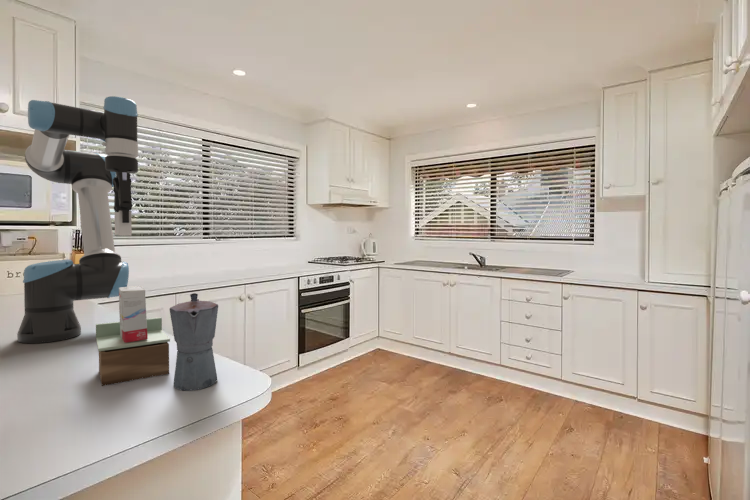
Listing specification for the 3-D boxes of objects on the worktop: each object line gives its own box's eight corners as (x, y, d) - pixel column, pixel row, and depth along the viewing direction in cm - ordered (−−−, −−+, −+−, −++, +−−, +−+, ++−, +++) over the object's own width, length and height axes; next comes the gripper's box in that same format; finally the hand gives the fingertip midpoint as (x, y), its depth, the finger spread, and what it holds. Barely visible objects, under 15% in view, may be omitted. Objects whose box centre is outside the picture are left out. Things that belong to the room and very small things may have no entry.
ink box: (147, 340, 92) (147, 289, 91) (122, 344, 89) (121, 291, 88) (142, 332, 99) (142, 285, 98) (118, 335, 96) (118, 286, 95)
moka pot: (170, 399, 79) (169, 299, 78) (170, 374, 92) (169, 288, 91) (221, 391, 83) (221, 296, 82) (214, 368, 97) (213, 286, 96)
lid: (96, 339, 94) (95, 324, 94) (161, 331, 103) (161, 317, 103) (98, 351, 85) (98, 334, 85) (169, 341, 93) (169, 326, 93)
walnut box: (99, 371, 94) (98, 341, 93) (161, 361, 101) (160, 333, 101) (101, 386, 85) (101, 353, 84) (169, 373, 93) (168, 344, 92)
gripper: (102, 161, 115) (103, 234, 116) (108, 147, 96) (109, 236, 97) (132, 164, 120) (133, 234, 121) (144, 151, 100) (145, 236, 101)
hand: (122, 235), depth 109 cm, fingers open, 13 cm apart
